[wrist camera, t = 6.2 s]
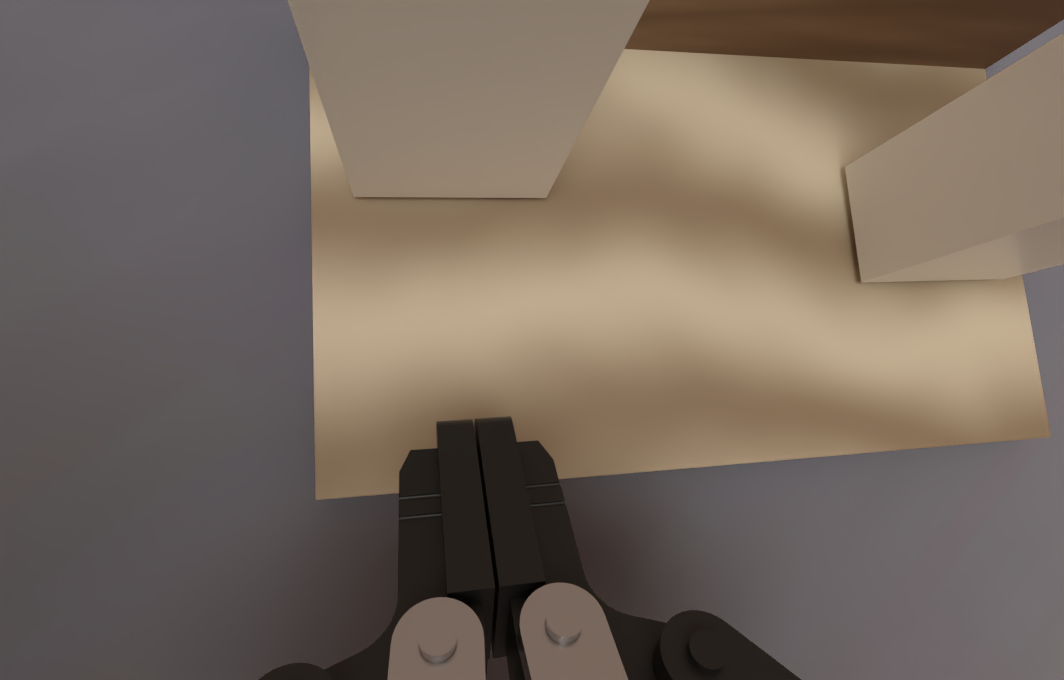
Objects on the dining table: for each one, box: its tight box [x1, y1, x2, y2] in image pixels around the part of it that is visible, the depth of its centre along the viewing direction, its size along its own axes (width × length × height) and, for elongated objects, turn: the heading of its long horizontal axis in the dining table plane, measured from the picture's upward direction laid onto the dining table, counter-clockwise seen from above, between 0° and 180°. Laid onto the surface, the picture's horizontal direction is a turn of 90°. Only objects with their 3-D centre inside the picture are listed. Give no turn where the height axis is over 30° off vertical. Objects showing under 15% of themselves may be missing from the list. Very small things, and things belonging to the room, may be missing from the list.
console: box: [309, 0, 1064, 500], centre depth 17 cm, size 15×24×5 cm, turn 94°
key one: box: [288, 0, 649, 198], centre depth 13 cm, size 4×6×9 cm
